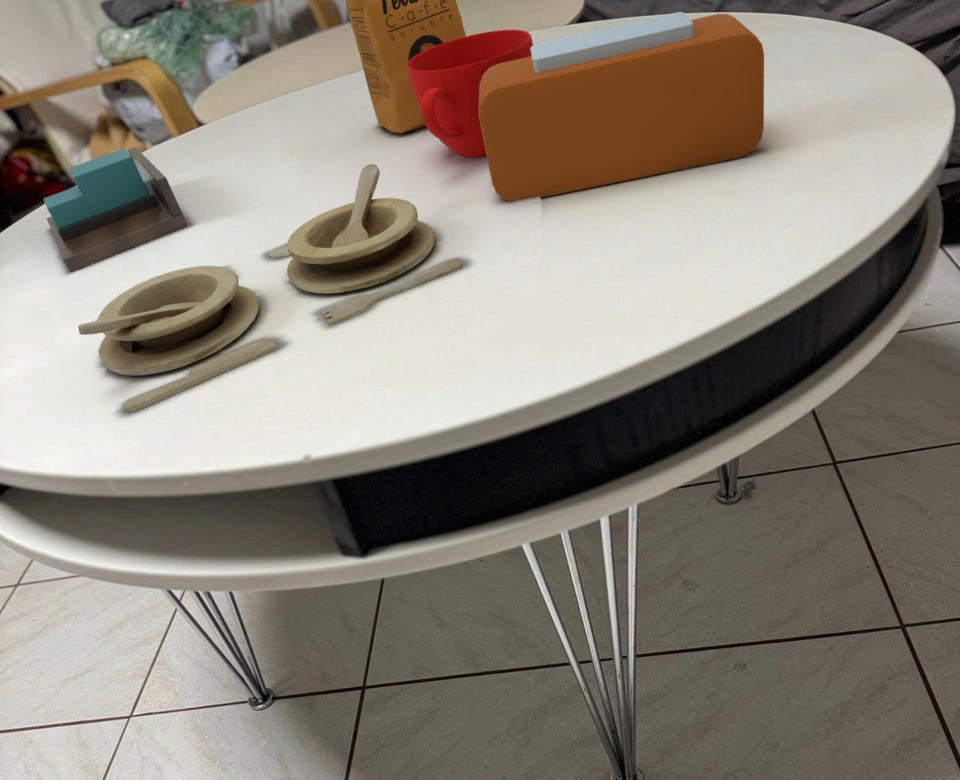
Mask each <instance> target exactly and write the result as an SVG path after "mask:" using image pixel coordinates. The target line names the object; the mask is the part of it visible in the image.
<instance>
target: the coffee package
mask: <svg viewBox="0 0 960 780" xmlns="http://www.w3.org/2000/svg"><path fill="white" fill-rule="evenodd" d="M345 5H346V10H347V13H348V18H349V22H350V25H351V28H352V31H353V34H354V38H355V42H356V46H357V50H358V53H359V57H360V61H361V66H362V69H363V72H364V78H365V81H366V85H367V89H368V92H369V96H370V100H371V104H372V107H373V110H374V113H375V117H376V120H377V124H378V126H379V127H380V128H382V129H383V128H385V129H386V130H387V131H389V132H391V133H398V134H403V133H407V132H412V131H415V130H418V129H421V128H424V127H426V125H425V123H424V120H423V117H422V112H421V110H420V107H419V105H418V102H417V99H416V97H415V94H414V91H413V88H412V85H411V81H410V78H409V75H408V71H407V63H408V62H409V60H410V59H412V58H413V57H414V56H416V55H417V54H419V53H421V52H423V51H425V50H427V49H429V48H432V47H434V46H437V45H439V44H442V43H445V42H448V41H451V40H455V39H458V38H462V37H466V36H467V33H466V31H465V28H464V24H463V18H462V15H461V13H460V10H459V6H458V3H457V0H345Z"/></svg>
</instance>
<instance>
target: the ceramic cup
mask: <svg viewBox="0 0 960 780" xmlns="http://www.w3.org/2000/svg"><path fill="white" fill-rule="evenodd" d="M533 42H534V41H533V38H532V35H531V33H530V32H528V31H527V30H521V29H501V30H500V29H499V30H491V31H485V32H480V33H476V34H475V33H474V34H470V35H466V37H462V38H458V39H455V40H451V41H448V42H445V43H442V44H439V45H437V46H434V47H432V48H429V49H427V50H425V51H423V52H421V53H419V54H417V55H416V56H414V57H413V58H412V59H410V60H409V62H408V63H407V71H408V75H409V78H410V81H411V85H412V88H413V91H414V94H415V97H416V99H417V102H418V105H419V107H420V110H421V112H422V117H423V120H424V123H425V125H426V126H425V127H426V128H427V130H428V131H429V133H430V134H432V136H433V137H436V138H437V139H438V140H439V141H440V143H442V144H443V145H444V146H446V147H447V148H448V149H449V150H450V151H452V152H453V153H455V154H456V155H458V156H459V157H462V158H471V159H473V158H474V159H475V158H483V157H487V155H486V150H485V145H484V140H483V135H482V130H481V125H480V120H479V88H480V81H481V79H482V76H483V74H484V73H485V72H486V71H487V70H488V69H489V68H490V67H492V66H494V65H496V64H500V63H504V62H508V61H513V60H517V59H522V58H526V57H530V56H532V54H531V47H532V46H533V45H534V43H533Z"/></svg>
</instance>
